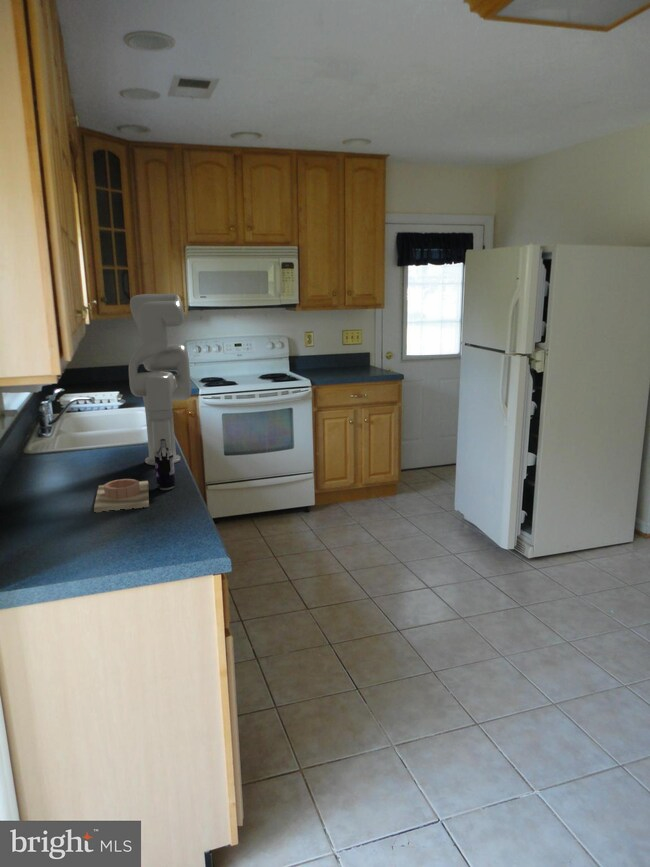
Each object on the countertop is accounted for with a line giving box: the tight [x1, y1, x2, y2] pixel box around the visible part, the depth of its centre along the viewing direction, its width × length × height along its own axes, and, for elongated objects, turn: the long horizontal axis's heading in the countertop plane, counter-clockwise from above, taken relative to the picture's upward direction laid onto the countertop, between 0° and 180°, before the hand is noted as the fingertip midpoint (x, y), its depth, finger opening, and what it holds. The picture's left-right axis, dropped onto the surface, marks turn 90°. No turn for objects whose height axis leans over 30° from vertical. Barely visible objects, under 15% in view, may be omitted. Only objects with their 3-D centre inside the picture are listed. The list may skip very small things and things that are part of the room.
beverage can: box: [154, 450, 176, 491], centre depth 199 cm, size 6×6×12 cm
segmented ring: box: [103, 478, 140, 499], centre depth 191 cm, size 10×10×3 cm
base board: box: [93, 480, 150, 513], centre depth 191 cm, size 22×15×2 cm
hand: (164, 468), depth 199 cm, fingers open, 9 cm apart
